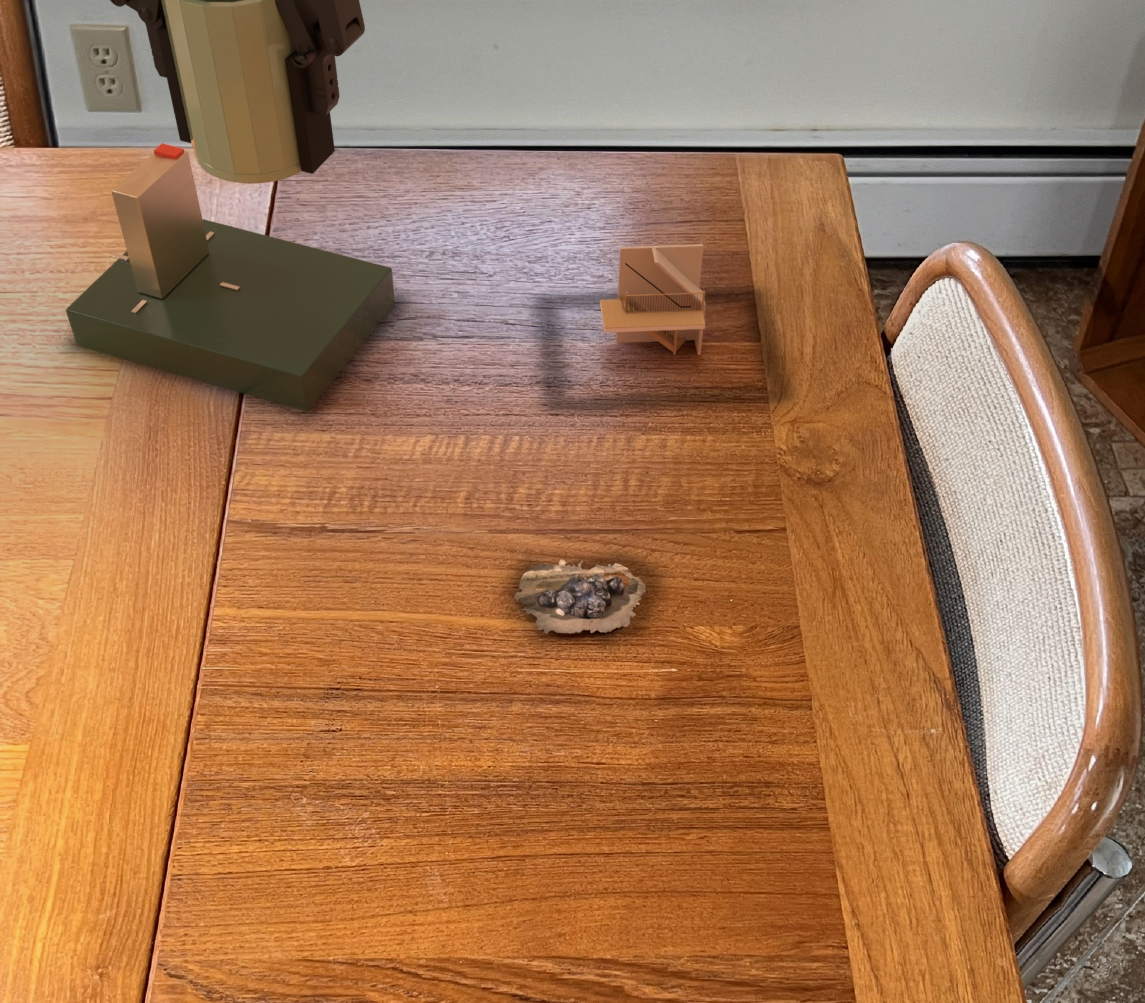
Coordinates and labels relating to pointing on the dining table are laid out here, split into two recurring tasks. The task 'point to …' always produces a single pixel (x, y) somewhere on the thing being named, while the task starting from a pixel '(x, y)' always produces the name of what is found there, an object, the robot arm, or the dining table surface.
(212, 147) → the cup
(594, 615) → the blueberries
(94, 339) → the green base plate
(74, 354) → the dining table surface
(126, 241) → the gold upright block
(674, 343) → the architectural model
